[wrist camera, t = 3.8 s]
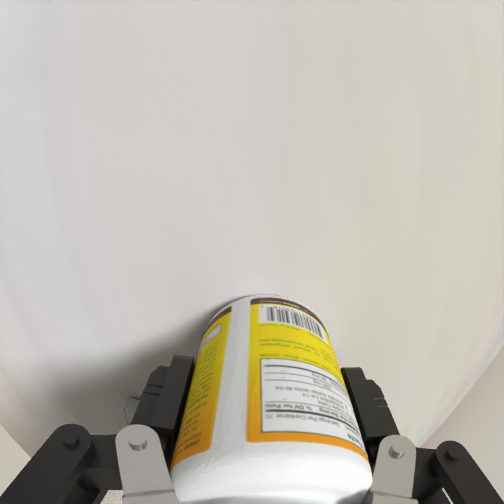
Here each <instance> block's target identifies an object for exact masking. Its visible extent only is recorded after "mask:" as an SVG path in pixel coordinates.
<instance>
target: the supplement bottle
mask: <svg viewBox="0 0 504 504" xmlns="http://www.w3.org/2000/svg"><path fill="white" fill-rule="evenodd" d="M169 476H170V479H171V482H172V485H173V488H174V490H175V493H176V496H177V499H178V502H179V504H361V502H362V501H363V499H364V498H365V496H366V495H367V493H368V491H369V489H370V487H371V485H372V480H373V478H372V472H371V467H370V464H369V460H368V457H367V453H366V450H365V447H364V443H363V440H362V437H361V434H360V430H359V427H358V424H357V421H356V418H355V415H354V411H353V408H352V404H351V401H350V398H349V395H348V392H347V389H346V386H345V383H344V380H343V377H342V374H341V371H340V368H339V365H338V362H337V359H336V356H335V353H334V351H333V348H332V345H331V342H330V339H329V336H328V333H327V331H326V329H325V327H324V325H323V323H322V322H321V320H320V319H319V317H318V316H317V315H316V314H315V313H314V312H313V311H312V310H311V309H310V308H308V307H307V306H305V305H304V304H302V303H300V302H298V301H296V300H294V299H291V298H288V297H284V296H278V295H268V294H267V295H254V296H249V297H245V298H242V299H239V300H237V301H234V302H232V303H231V304H229V305H227V306H225V307H224V308H223V309H221V310H220V311H219V312H218V313H217V314H216V315H215V316H214V317H213V318H212V319H211V321H210V322H209V324H208V325H207V327H206V329H205V331H204V333H203V336H202V340H201V344H200V348H199V351H198V355H197V359H196V363H195V367H194V371H193V375H192V379H191V383H190V387H189V391H188V395H187V399H186V403H185V408H184V412H183V416H182V420H181V425H180V429H179V433H178V437H177V441H176V445H175V450H174V454H173V458H172V462H171V466H170V471H169Z"/></svg>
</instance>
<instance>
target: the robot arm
mask: <svg viewBox="0 0 504 504" xmlns="http://www.w3.org/2000/svg"><path fill="white" fill-rule="evenodd" d="M194 367H195V364H194V357H187V356H179V355H174V357H173V360H172V362H171V365H170V367H164V366H159V367H158V368H157V369H156V370H154V371H153V372H152V373H151V375H150V377H149V379H148V382H147V386H146V387H145V389H144V391H143V394H142V396H141V399H140V401H139V404H138V406H137V409H136V411H135V414H134V416H133V419H132V421H131V423H130V425H129V426H126V427H124V428H123V429H121V430H120V431H119V432H118V434H114V435H90V434H89V432H88V431H87V430H86V429H85V428H84V427H82V426H80V425H76V424H66V425H63V426H60V427H59V428H57V429H56V430H55V431H54V432H53V434H52V435H51V436H50V437H49V438H48V440H47V441H46V442H45V443H44V444H43V445H42V447H41V448H40V449H39V450H38V451H37V453H36V454H35V455H34V456H33V457H32V459H31V460H30V461H29V462H28V463H27V465H26V466H25V467H24V468H23V469H22V471H21V472H20V473H19V474H18V475H17V477H16V478H15V479H14V481H13V482H12V483H11V484H10V485H9V487H8V488H7V489H6V490H5V491H4V493H3V494H2V495H1V496H0V504H100V503H101V501H102V500H103V498H104V496H105V495H106V493H107V492H108V490H123V492H124V495H123V496H122V502H123V504H179V502H178V499H177V496H176V493H175V490H174V488H173V485H172V482H171V479H170V476H169V471H170V466H171V462H172V458H173V454H174V450H175V445H176V441H177V437H178V433H179V429H180V425H181V420H182V416H183V412H184V408H185V403H186V399H187V395H188V391H189V387H190V383H191V379H192V375H193V371H194ZM340 371H341V374H342V377H343V380H344V383H345V386H346V389H347V392H348V395H349V398H350V401H351V404H352V408H353V411H354V415H355V418H356V421H357V424H358V427H359V430H360V434H361V437H362V440H363V443H364V447H365V450H366V453H367V457H368V460H369V464H370V467H371V472H372V478H373V480H372V485H371V487H370V489H369V491H368V493H367V495H366V496H365V498H364V499H363V501H362V502H361V504H450V502H449V500H448V498H447V497H446V495H445V493H444V492H443V490H442V488H444V489H445V491H446V493H447V494H448V496H449V497H450V499H451V500H452V502H453V504H504V502H503V500H502V499H501V498H500V496H499V495H498V493H497V492H496V490H495V489H494V488H493V486H492V485H491V483H490V482H489V480H488V479H487V478H486V476H485V475H484V474H483V472H482V471H481V469H480V468H479V467H478V465H477V464H476V462H475V461H474V460H473V459H472V457H471V456H470V454H469V453H468V452H467V450H466V449H465V448H464V447H463V446H462V445H461V444H460V443H458V442H455V441H445V442H443V443H441V444H440V445H439V446H438V447H437V449H425V448H424V449H423V448H417V447H415V445H414V444H413V442H412V441H411V440H409V439H408V438H406V437H404V436H401V435H400V434H399V431H398V429H397V427H396V424H395V422H394V419H393V417H392V414H391V412H390V410H389V407H387V406H388V405H387V402H386V400H385V399H384V395H383V393H382V391H381V388H380V387H379V386H378V385H377V384H376V383H375V382H374V381H373V380H366V378H365V376H364V373H363V371H362V369H361V368H360V367H354V368H341V370H340Z"/></svg>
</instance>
